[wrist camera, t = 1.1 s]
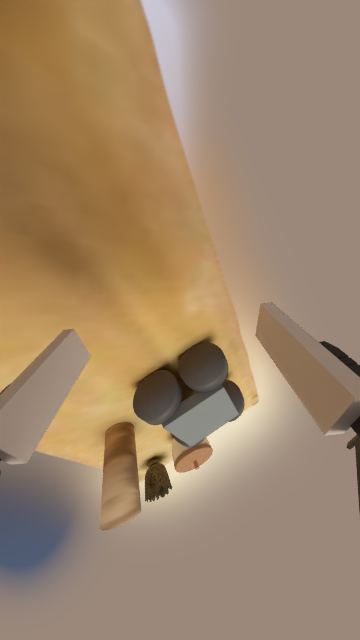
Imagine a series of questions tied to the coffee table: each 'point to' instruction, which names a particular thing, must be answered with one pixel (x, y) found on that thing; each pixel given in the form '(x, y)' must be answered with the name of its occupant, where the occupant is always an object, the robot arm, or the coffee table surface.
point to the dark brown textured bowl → (156, 480)
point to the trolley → (199, 409)
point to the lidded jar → (190, 455)
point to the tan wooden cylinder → (119, 477)
